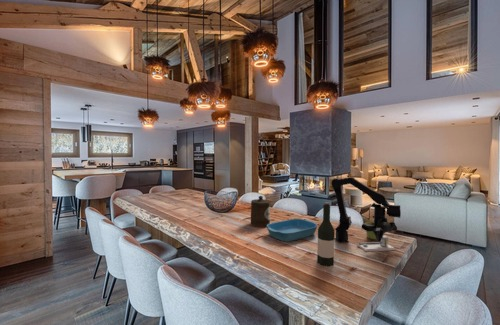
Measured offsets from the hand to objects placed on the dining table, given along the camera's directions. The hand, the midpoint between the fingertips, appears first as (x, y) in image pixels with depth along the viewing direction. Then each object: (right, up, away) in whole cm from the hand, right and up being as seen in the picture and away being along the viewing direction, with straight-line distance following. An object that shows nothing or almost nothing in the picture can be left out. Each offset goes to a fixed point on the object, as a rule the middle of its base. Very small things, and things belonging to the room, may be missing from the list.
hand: (378, 241), depth 137 cm
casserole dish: (-47, -3, +21) cm, 51 cm away
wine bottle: (-38, -4, -20) cm, 43 cm away
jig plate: (-2, -4, 0) cm, 4 cm away
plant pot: (+5, -3, +17) cm, 18 cm away
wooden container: (-67, -2, +44) cm, 80 cm away
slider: (+3, -2, 0) cm, 4 cm away
